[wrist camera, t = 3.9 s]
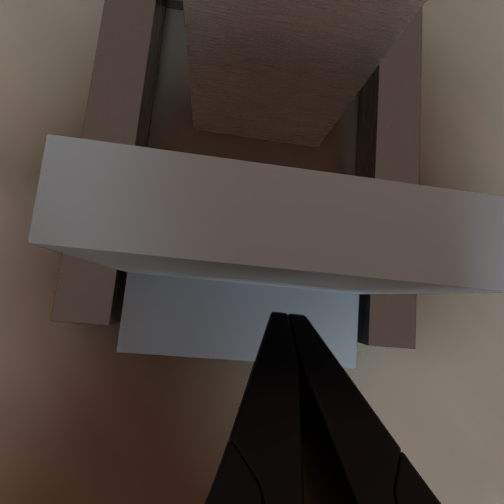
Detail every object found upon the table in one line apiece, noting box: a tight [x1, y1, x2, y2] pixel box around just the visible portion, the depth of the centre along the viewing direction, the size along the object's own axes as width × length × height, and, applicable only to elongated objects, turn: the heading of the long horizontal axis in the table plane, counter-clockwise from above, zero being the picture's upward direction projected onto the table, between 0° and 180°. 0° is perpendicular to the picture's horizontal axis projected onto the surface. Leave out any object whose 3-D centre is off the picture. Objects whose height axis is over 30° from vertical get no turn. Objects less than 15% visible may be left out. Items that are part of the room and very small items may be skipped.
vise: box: [51, 0, 422, 349], centre depth 13 cm, size 17×14×6 cm
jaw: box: [27, 134, 504, 369], centre depth 11 cm, size 6×9×9 cm, turn 85°
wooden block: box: [183, 0, 426, 147], centre depth 12 cm, size 5×6×9 cm
